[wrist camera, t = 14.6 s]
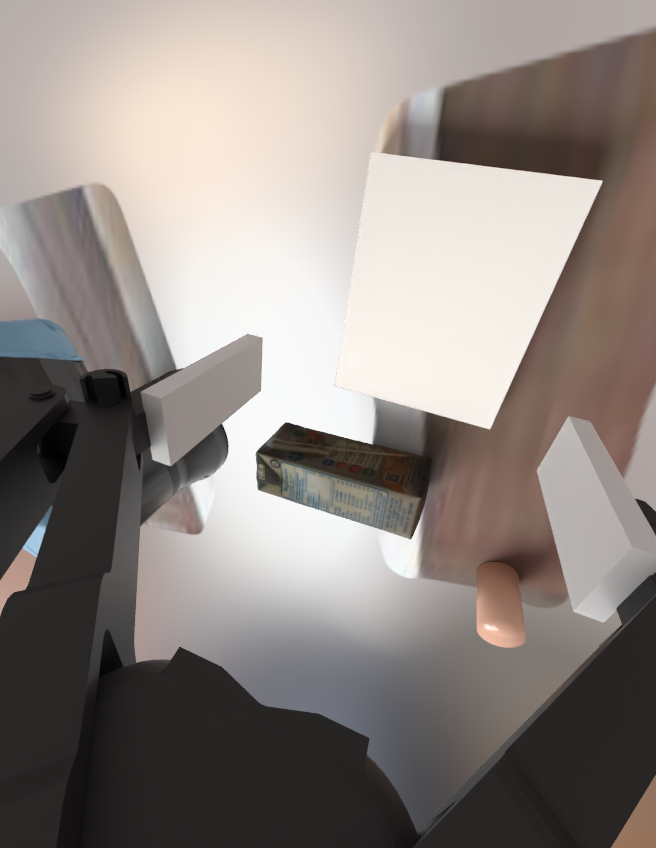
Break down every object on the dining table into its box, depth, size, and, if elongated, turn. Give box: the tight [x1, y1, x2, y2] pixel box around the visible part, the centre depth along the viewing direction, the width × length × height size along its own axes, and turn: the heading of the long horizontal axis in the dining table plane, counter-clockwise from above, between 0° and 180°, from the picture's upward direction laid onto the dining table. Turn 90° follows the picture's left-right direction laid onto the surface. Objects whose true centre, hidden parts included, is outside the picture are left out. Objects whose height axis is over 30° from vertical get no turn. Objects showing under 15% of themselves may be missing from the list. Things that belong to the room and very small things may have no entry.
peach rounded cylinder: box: [477, 562, 526, 648], centre depth 44 cm, size 5×5×8 cm
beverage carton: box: [256, 423, 431, 539], centre depth 42 cm, size 8×19×7 cm
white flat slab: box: [335, 152, 603, 429], centre depth 32 cm, size 16×20×3 cm
